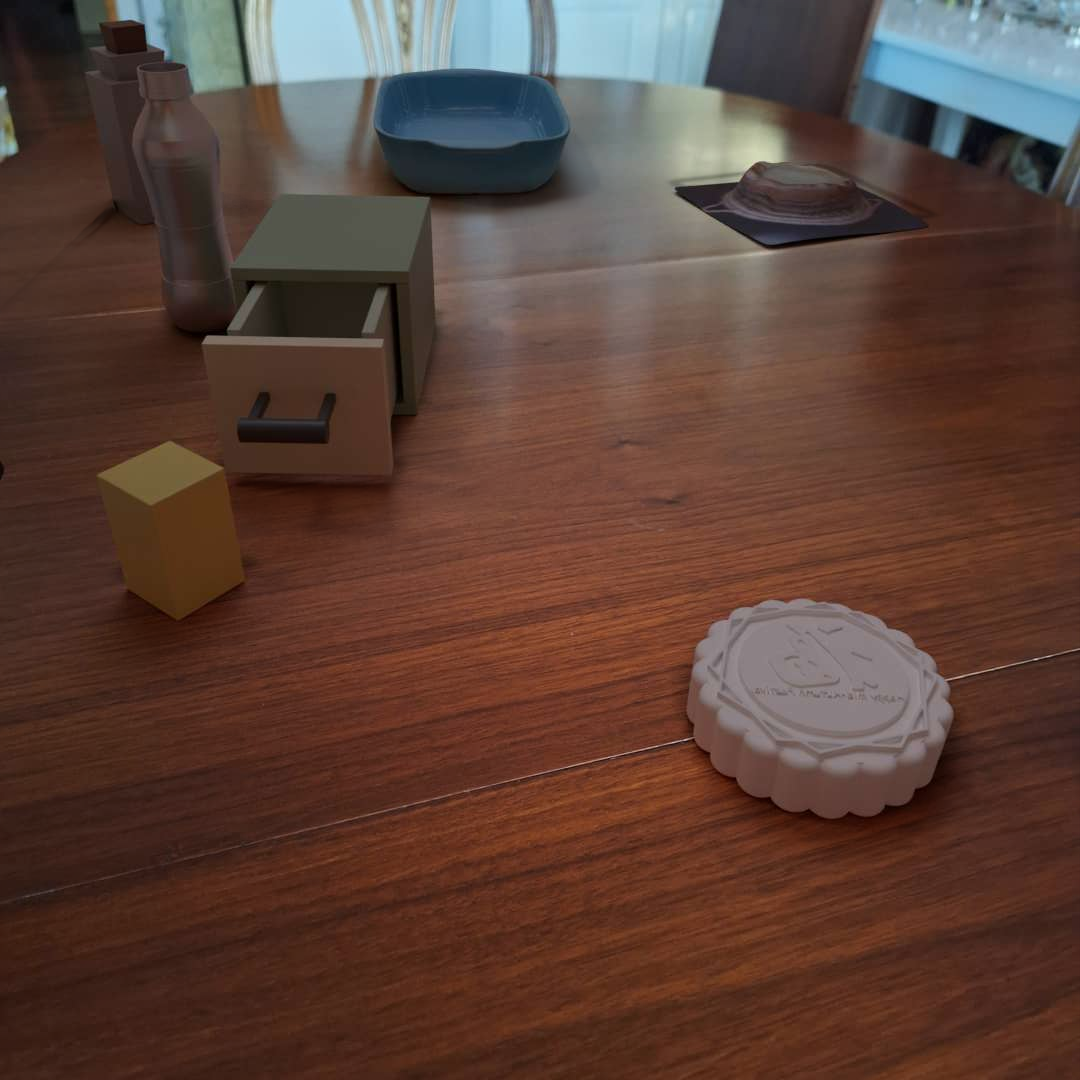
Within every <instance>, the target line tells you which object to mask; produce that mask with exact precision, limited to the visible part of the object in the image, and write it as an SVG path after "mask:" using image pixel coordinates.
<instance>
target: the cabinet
mask: <svg viewBox="0 0 1080 1080" xmlns="http://www.w3.org/2000/svg"><path fill="white" fill-rule="evenodd" d="M431 204H432V203H431V197H430V196H406V195H405V196H403V195H402V196H401V195H400V196H398V195H357V194H356V195H352V194H351V195H350V194H349V195H348V194H347V195H346V194H308V193H307V194H305V193H304V194H303V193H300V194H298V193H280V194H279V195H278V196H277V198H276V199H275V201H274V202H273V204H272V205H271V206H270V208H269V210H267V212H266V214H265V215H264V217H263V218H262V220H261V221H260V222H259V224H258V226H257V227H256V229H255V230H254V232H253V233H252V235H251V236H250V237H249V239H248V240H247V242H246V244H245V245H244V247H243V248H242V249H241V250H240V252H239V254H238V255H237V257H236V258H235V260H233V262H234V263H233V264H232V266H231V267H230V271H231V277H232V284H233V290H234V296H235V302H236V308H237V312H238V311H239V309H240V307H241V306H242V304H243V302H244V301H245V299H246V297H247V296H248V294H249V292H250V291H251V289H252V287H253V286H254V284H255V282H256V281H305V282H356V283H396V291H397V306H398V322H399V337H400V353H401V368H402V377H401V381H400V385H399V389H398V393H397V397H396V401H395V405H394V409H393V413H392V416H417V415H418V411H419V406H420V402H421V397H422V392H423V388H424V383H425V377H426V373H427V367H428V364H429V359H430V354H431V349H432V344H433V340H434V335H435V331H436V325H437V322H436V321H437V320H436V300H435V299H436V297H435V277H434V254H433V249H434V248H433V229H432V209H431V207H432V205H431Z"/></svg>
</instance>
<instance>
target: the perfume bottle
mask: <svg viewBox="0 0 1080 1080" xmlns="http://www.w3.org/2000/svg"><path fill="white" fill-rule="evenodd" d="M98 25H99V29H100V33H101V36H102V39H103V42H104V46H103V45H102V46H101V45H100V46H92V47H88V50H89V51H90V53H91V56H92V57H93V59H94V62H95V64H96V66H97V69H98V70H90V71H85V72H84V74H85V79H86V83H87V87H88V92H89V97H90V101H91V106H92V110H93V111H92V112H93V115H94V120H95V123H96V124H95V125H96V129H97V133H98V138H99V143H100V147H101V152H102V156H103V161H104V165H105V169H106V175H107V179H108V184H109V188H110V191H111V197H112V199H113V200H114V201H113V206H114V209H115V210H117V211H118V212H120V214H122V215H124V216H126V217H127V218H128V219H130V220H132V221H133V222H134V223H136V224H137V225H139V226H145V225H148V224H155V217H154V216H153V213H152V209H151V205H150V201H149V197H148V194H147V191H146V188H145V185H144V182H143V180H142V177H141V174H140V171H139V168H138V165H137V161H136V159H135V156H134V152H133V149H132V139H133V131H134V128H135V125H136V123H137V120H138V118H139V116H140V114H141V112H142V110H143V108H144V106H145V98H144V97H141V96H140V92H139V87H140V85H139V80H138V75H137V67H138V66H141V65H144V64H149V63H157V62H165V50H164V49H162V48H160V47H157V46H154V45H151V44H149V43H147V34H146V33H147V32H146V24H144V23H141V22H138V21H136V20H133V19H124V20H113V21H104V22H98Z"/></svg>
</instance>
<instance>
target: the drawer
mask: <svg viewBox="0 0 1080 1080" xmlns="http://www.w3.org/2000/svg"><path fill="white" fill-rule="evenodd" d="M226 333H227V335H206V336H205V337H204V340H203V341H202V342H201V349H202V354H203V359H204V364H205V370H206V376H207V380H208V386H209V392H210V397H211V402H212V408H213V413H214V419H215V424H216V425H215V426H216V429H217V435H218V441H219V446H220V451H221V456H222V462H223V463H222V464H223V468H224V470H225V473H236V474H238V473H241V474H287V475H288V474H289V475H291V474H292V475H340V476H341V475H342V476H343V475H345V476H346V475H347V476H356V475H357V476H392V474H393V469H394V453H393V440H392V427H391V421H392V416H393V415H392V413H393V409H394V405H395V401H396V397H397V393H398V389H399V385H400V381H401V377H402V368H401V353H400V337H399V322H398V306H397V291H396V283H356V282H305V281H256V282H255V284H254V286H253V287H252V289H251V291H250V292H249V294H248V296H247V297H246V299H245V301H244V302H243V304H242V306H241V307H240V309H239V311H238V312H237V314H236V316H235V317H234V319H233V321H232V322H231V324H230V326H229V327H227V328H226Z"/></svg>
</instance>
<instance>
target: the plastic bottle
mask: <svg viewBox="0 0 1080 1080" xmlns="http://www.w3.org/2000/svg"><path fill="white" fill-rule="evenodd" d="M188 67H189V66H188V65H187V64H186V63H182V62H175V61H164V62H157V63H149V64H144V65H141V66H138V67H137V75H138V80H139V85H140V87H139V92H140V96H141V97H144V98H145V106H144V108H143V110H142V112H141V114H140V116H139V118H138V120H137V123H136V125H135V128H134V131H133V139H132V149H133V152H134V156H135V159H136V161H137V165H138V168H139V171H140V174H141V177H142V180H143V182H144V185H145V188H146V191H147V194H148V197H149V201H150V205H151V209H152V213H153V216H154V217H155V222H154V224H155V229H156V233H157V240H158V251H159V258H160V267H161V281H160V282H161V283H160V284H161V287H160V288H161V298H162V299H161V300H162V303H163V306H164V308H165V311H166V313H167V316H168V318H169V319H170V320H171V321H172V322H173V323H174V324H175V325H176V326H177V327H178V328H179V329H181V330H184V331H187V332H194V333H207V332H215V331H216V332H217V331H221V330H224V329H228V327H229V326H230V324H231V322H232V321H233V319H234V317H235V316H236V314H237V308H236V302H235V296H234V290H233V284H232V277H231V271H230V267H231V266H232V264H233V263H234V258H233V254H232V250H231V245H230V241H229V238H228V234H227V229H226V223H225V215H224V213H223V211H224V206H223V197H222V196H223V195H222V171H221V169H222V168H221V167H222V166H221V148H220V147H221V146H220V139H219V136H218V134H217V132H216V130H215V127H214V126H213V125H212V123H211V122H210V121H209V120H208V118H207V117H206V116H205V115H204V113H203V112H202V111H201V110H200V109H199V108H198V107H197V105H195V103H194V102H193V101H192V97H191V96H192V95H193V94H194V86H193V85H192V84H191V83H192V82H191V77H190V72H189V71H190V70H189V68H188Z"/></svg>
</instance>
